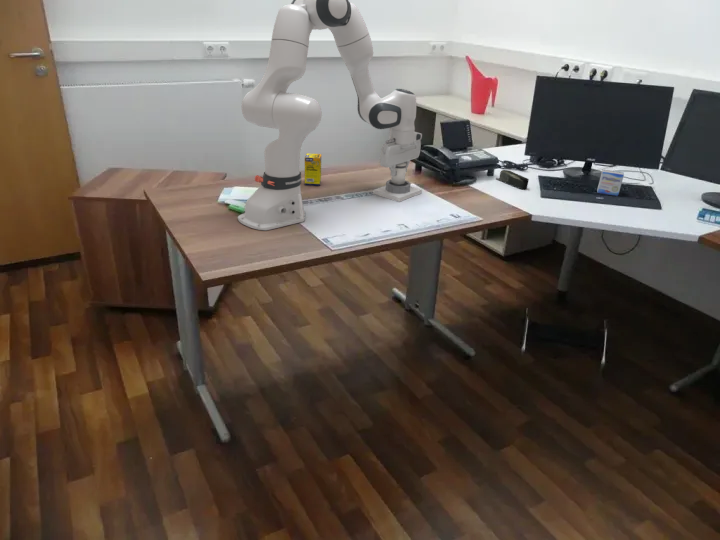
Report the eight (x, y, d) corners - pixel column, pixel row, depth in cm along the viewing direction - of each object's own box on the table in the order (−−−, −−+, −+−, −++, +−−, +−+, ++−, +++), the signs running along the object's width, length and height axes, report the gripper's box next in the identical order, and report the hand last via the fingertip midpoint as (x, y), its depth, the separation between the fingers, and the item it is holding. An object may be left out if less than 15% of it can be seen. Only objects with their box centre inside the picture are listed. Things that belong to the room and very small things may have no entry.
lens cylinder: (399, 185, 202) (400, 166, 199) (388, 181, 205) (389, 163, 202) (407, 182, 205) (409, 163, 202) (396, 179, 208) (397, 160, 205)
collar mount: (399, 202, 199) (399, 191, 197) (373, 193, 205) (373, 183, 203) (421, 193, 208) (422, 183, 206) (396, 185, 215) (396, 175, 213)
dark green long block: (530, 178, 216) (501, 167, 227) (525, 179, 214) (496, 167, 225) (527, 190, 218) (499, 178, 229) (522, 191, 217) (494, 179, 227)
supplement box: (320, 186, 210) (320, 158, 205) (304, 185, 210) (304, 157, 205) (321, 181, 216) (321, 153, 211) (306, 180, 216) (306, 153, 211)
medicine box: (596, 193, 218) (602, 171, 214) (597, 189, 222) (602, 168, 218) (618, 196, 215) (624, 174, 211) (618, 192, 219) (623, 171, 215)
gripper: (391, 143, 188) (388, 182, 195) (424, 133, 202) (421, 170, 209) (376, 139, 192) (374, 178, 198) (410, 130, 206) (407, 166, 212)
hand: (398, 174), depth 204 cm, fingers closed on lens cylinder, 5 cm apart
